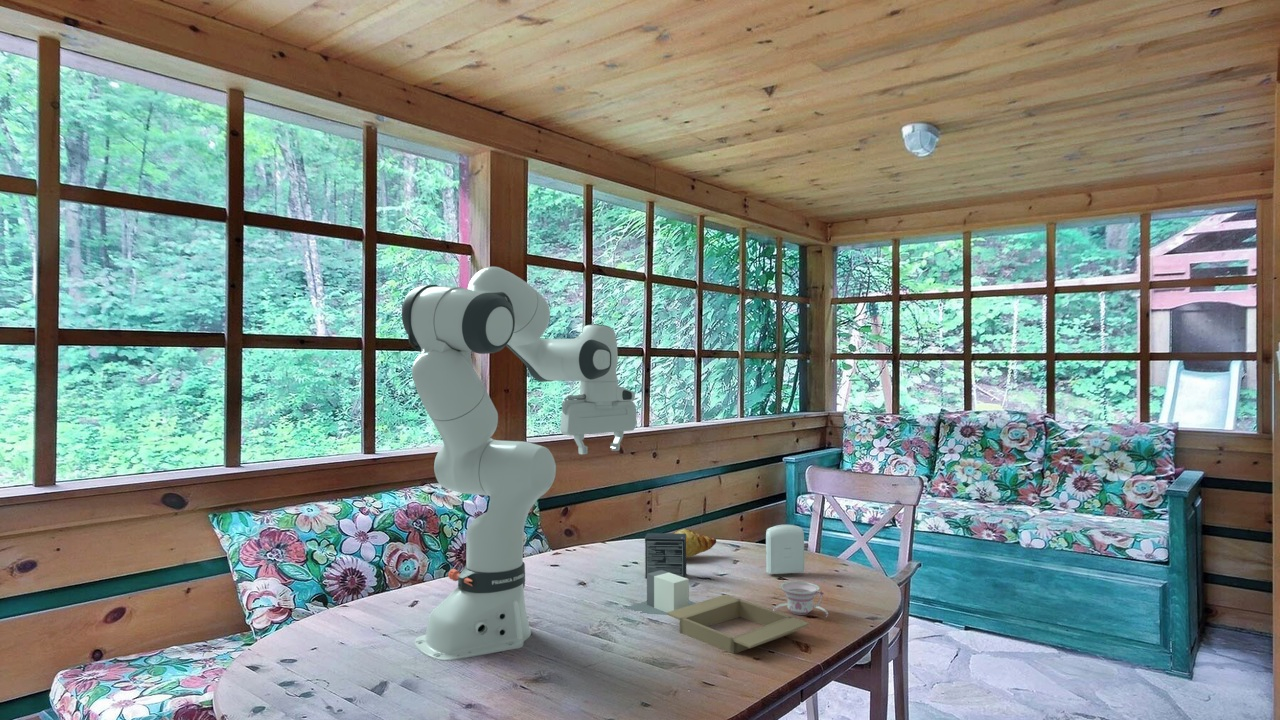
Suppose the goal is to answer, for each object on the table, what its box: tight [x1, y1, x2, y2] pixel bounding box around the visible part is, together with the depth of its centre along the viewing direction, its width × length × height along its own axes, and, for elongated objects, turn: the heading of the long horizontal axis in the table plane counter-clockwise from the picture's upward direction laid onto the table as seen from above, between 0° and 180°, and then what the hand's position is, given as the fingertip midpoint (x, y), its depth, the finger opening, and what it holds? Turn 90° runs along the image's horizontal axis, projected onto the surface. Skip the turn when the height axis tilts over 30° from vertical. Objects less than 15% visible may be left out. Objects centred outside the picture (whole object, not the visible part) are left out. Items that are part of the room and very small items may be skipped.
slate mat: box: [625, 599, 697, 616], centre depth 161 cm, size 14×13×1 cm
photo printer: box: [765, 524, 805, 575], centre depth 190 cm, size 10×4×12 cm, turn 99°
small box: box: [644, 532, 687, 580], centre depth 187 cm, size 11×6×10 cm, turn 84°
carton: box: [665, 594, 810, 655], centre depth 145 cm, size 18×23×4 cm
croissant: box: [673, 528, 717, 558], centre depth 206 cm, size 21×10×8 cm
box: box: [646, 570, 690, 613], centre depth 161 cm, size 4×9×7 cm, turn 40°
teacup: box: [772, 580, 829, 618], centre depth 159 cm, size 12×12×6 cm
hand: (599, 452), depth 171 cm, fingers open, 8 cm apart
